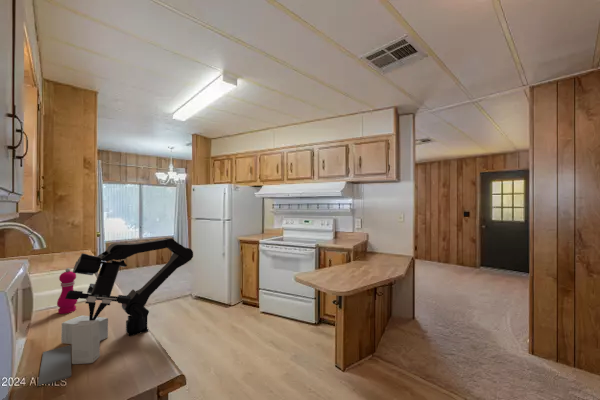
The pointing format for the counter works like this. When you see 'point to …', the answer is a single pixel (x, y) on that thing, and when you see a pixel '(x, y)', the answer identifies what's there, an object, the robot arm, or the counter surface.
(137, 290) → the robot arm
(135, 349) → the counter surface
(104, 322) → the supplement box
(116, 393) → the counter surface
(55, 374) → the rubber mat
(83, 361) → the skincare box
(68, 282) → the pepper mill
